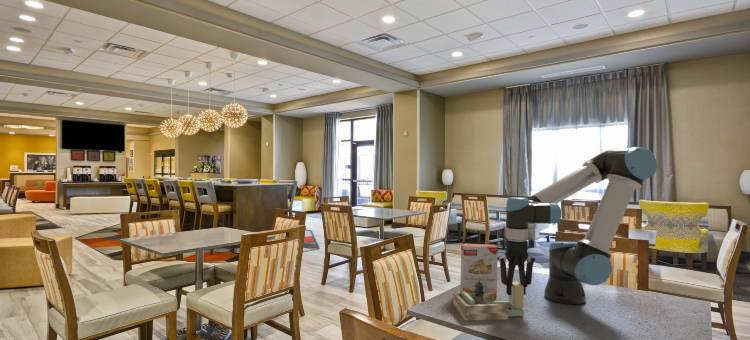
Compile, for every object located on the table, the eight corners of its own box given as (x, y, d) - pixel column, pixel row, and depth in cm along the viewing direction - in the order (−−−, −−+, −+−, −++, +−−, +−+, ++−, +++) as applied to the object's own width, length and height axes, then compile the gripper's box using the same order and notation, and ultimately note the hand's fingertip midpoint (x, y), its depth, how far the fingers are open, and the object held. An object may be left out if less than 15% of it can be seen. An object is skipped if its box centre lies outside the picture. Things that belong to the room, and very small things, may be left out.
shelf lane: (492, 305, 150) (492, 292, 150) (508, 319, 137) (508, 304, 137) (453, 306, 149) (453, 293, 149) (465, 320, 135) (465, 306, 135)
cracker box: (462, 297, 160) (463, 246, 160) (460, 292, 166) (460, 243, 166) (497, 298, 159) (498, 246, 159) (493, 293, 165) (494, 243, 165)
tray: (513, 306, 149) (513, 279, 149) (526, 315, 139) (526, 287, 139) (461, 307, 147) (462, 280, 147) (470, 317, 137) (471, 288, 137)
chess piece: (469, 314, 141) (470, 281, 141) (471, 309, 146) (471, 277, 146) (486, 316, 139) (487, 282, 139) (487, 311, 145) (488, 278, 145)
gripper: (532, 237, 149) (531, 299, 149) (491, 238, 147) (490, 300, 147) (543, 241, 141) (542, 306, 141) (500, 241, 140) (499, 307, 140)
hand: (515, 303), depth 144 cm, fingers closed on tray, 3 cm apart
